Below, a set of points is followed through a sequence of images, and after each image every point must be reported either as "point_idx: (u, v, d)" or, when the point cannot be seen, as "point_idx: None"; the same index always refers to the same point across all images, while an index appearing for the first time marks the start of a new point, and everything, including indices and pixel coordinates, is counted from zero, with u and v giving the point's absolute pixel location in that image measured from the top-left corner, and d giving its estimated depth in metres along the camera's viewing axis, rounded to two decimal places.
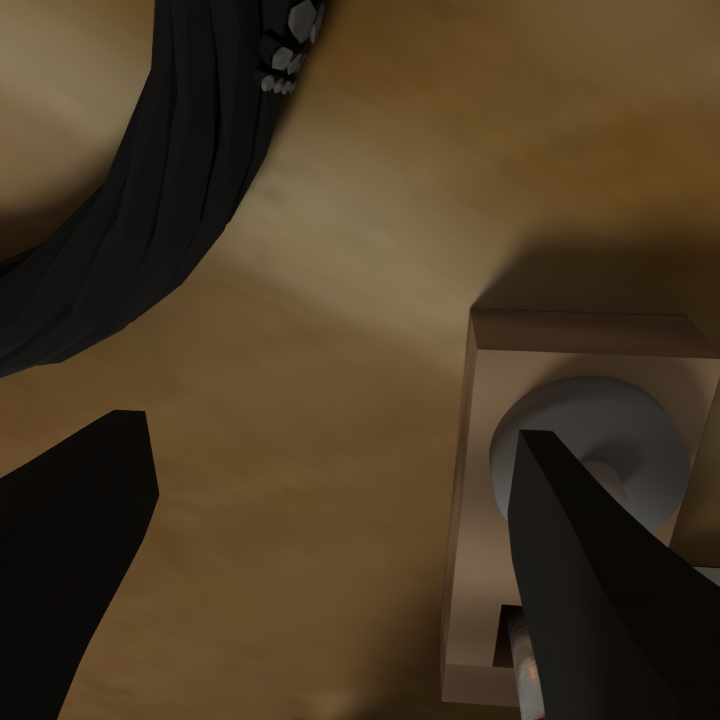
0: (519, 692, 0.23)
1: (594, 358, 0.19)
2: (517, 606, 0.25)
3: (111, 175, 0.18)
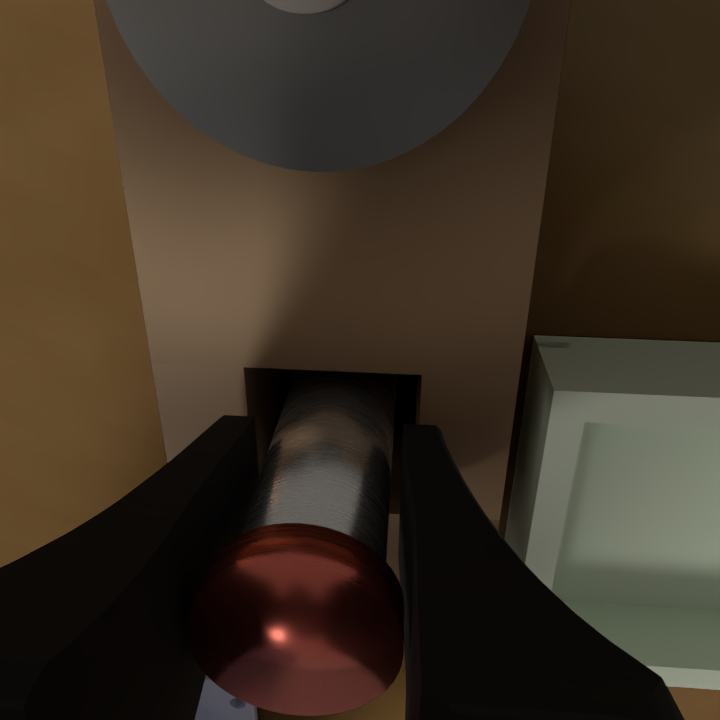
0: None
1: None
2: (293, 389, 0.14)
3: None
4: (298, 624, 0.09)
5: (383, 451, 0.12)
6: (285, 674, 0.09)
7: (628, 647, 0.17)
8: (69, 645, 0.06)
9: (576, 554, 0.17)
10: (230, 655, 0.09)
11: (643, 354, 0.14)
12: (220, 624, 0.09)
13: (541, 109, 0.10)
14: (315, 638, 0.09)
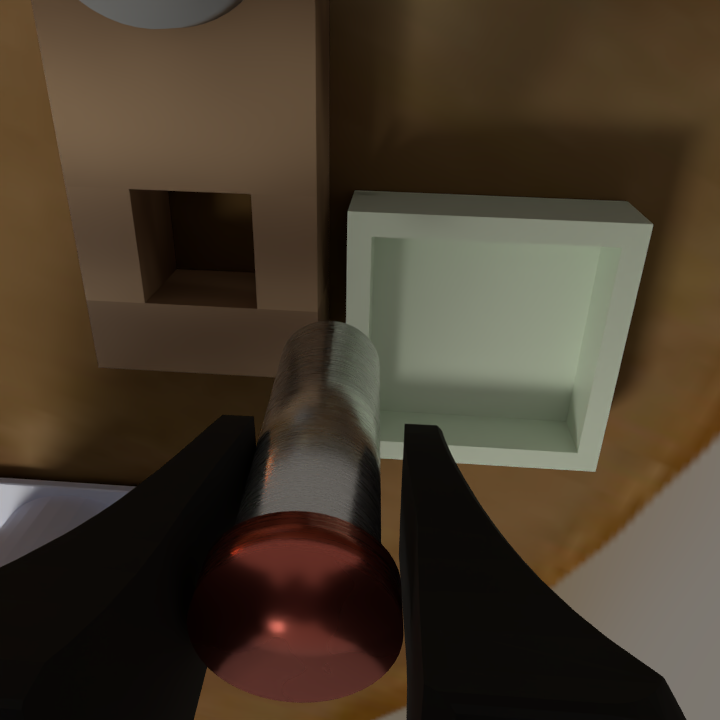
0: None
1: None
2: (278, 383, 0.14)
3: None
4: (300, 609, 0.09)
5: (371, 439, 0.12)
6: (287, 662, 0.09)
7: None
8: (67, 645, 0.06)
9: (401, 370, 0.23)
10: (232, 646, 0.09)
11: (425, 199, 0.20)
12: (221, 615, 0.09)
13: None
14: (316, 623, 0.09)
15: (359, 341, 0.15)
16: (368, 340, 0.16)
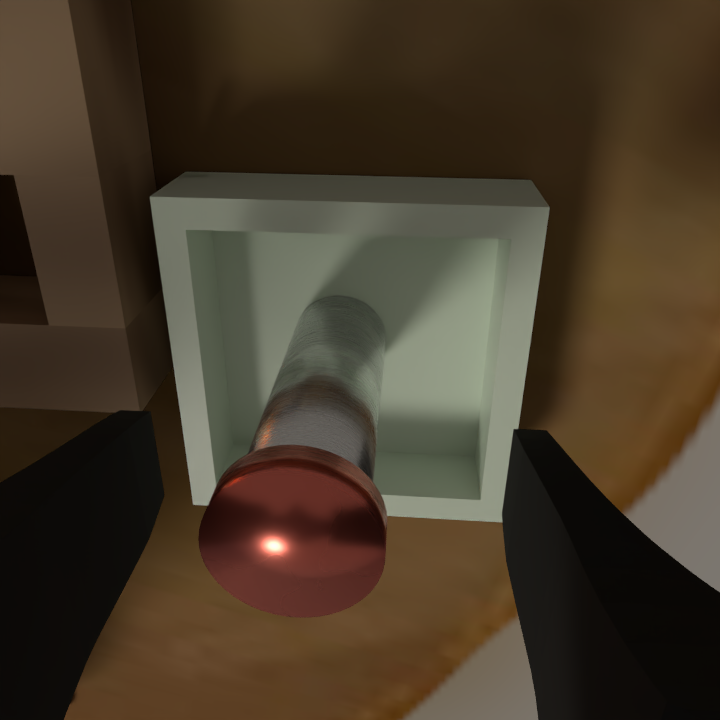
0: None
1: None
2: (290, 349, 0.15)
3: None
4: (294, 529, 0.10)
5: (370, 397, 0.14)
6: (285, 578, 0.11)
7: None
8: None
9: (266, 396, 0.18)
10: (236, 561, 0.11)
11: (268, 180, 0.15)
12: (227, 532, 0.10)
13: None
14: (309, 542, 0.10)
15: (366, 314, 0.16)
16: (375, 314, 0.17)
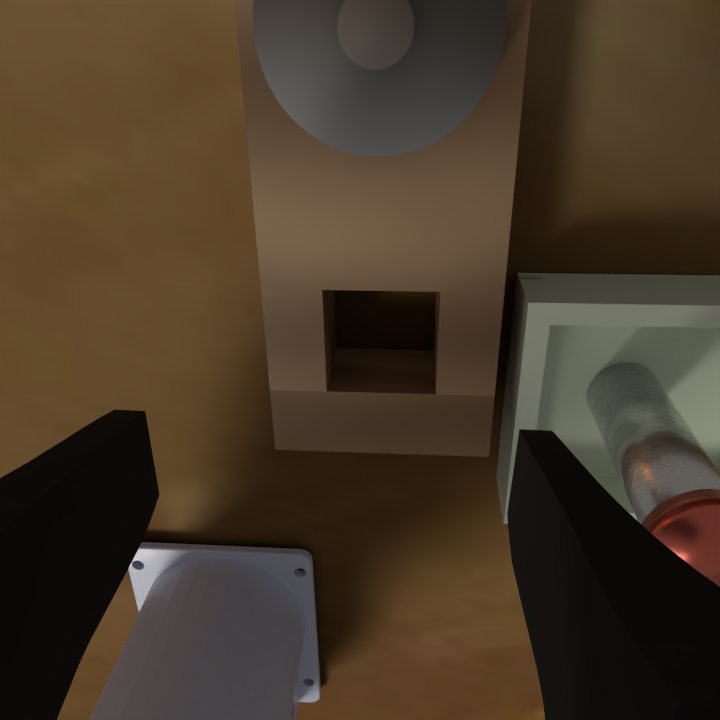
0: (631, 490, 0.18)
1: None
2: (615, 408, 0.20)
3: None
4: (719, 545, 0.16)
5: None
6: None
7: None
8: None
9: None
10: None
11: (592, 282, 0.21)
12: (671, 548, 0.16)
13: (511, 116, 0.16)
14: None
15: (654, 377, 0.22)
16: (655, 376, 0.22)
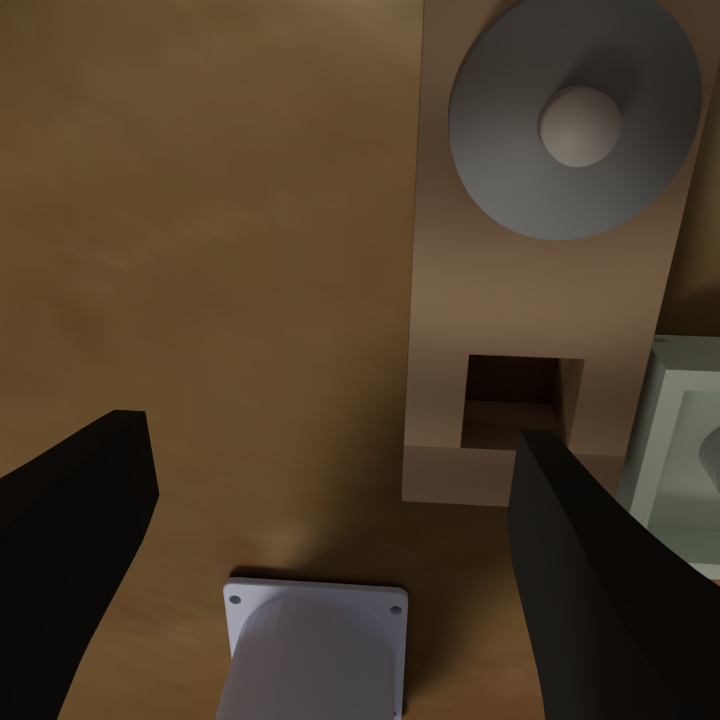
0: None
1: None
2: None
3: None
4: None
5: None
6: None
7: (700, 553, 0.24)
8: None
9: (662, 489, 0.24)
10: None
11: (718, 347, 0.21)
12: None
13: (677, 201, 0.17)
14: None
15: None
16: None
